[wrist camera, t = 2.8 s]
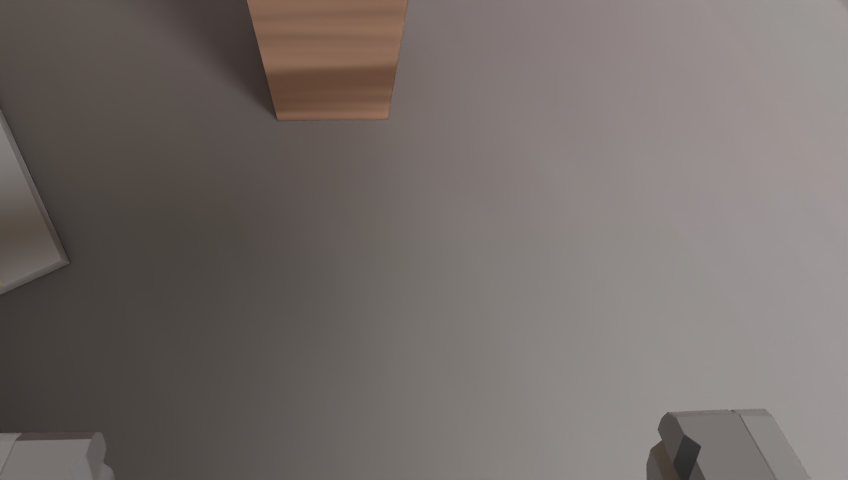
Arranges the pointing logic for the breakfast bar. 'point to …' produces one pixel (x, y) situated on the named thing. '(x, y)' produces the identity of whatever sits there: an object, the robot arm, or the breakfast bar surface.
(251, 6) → the peg
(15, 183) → the grey open box frame
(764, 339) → the breakfast bar surface
